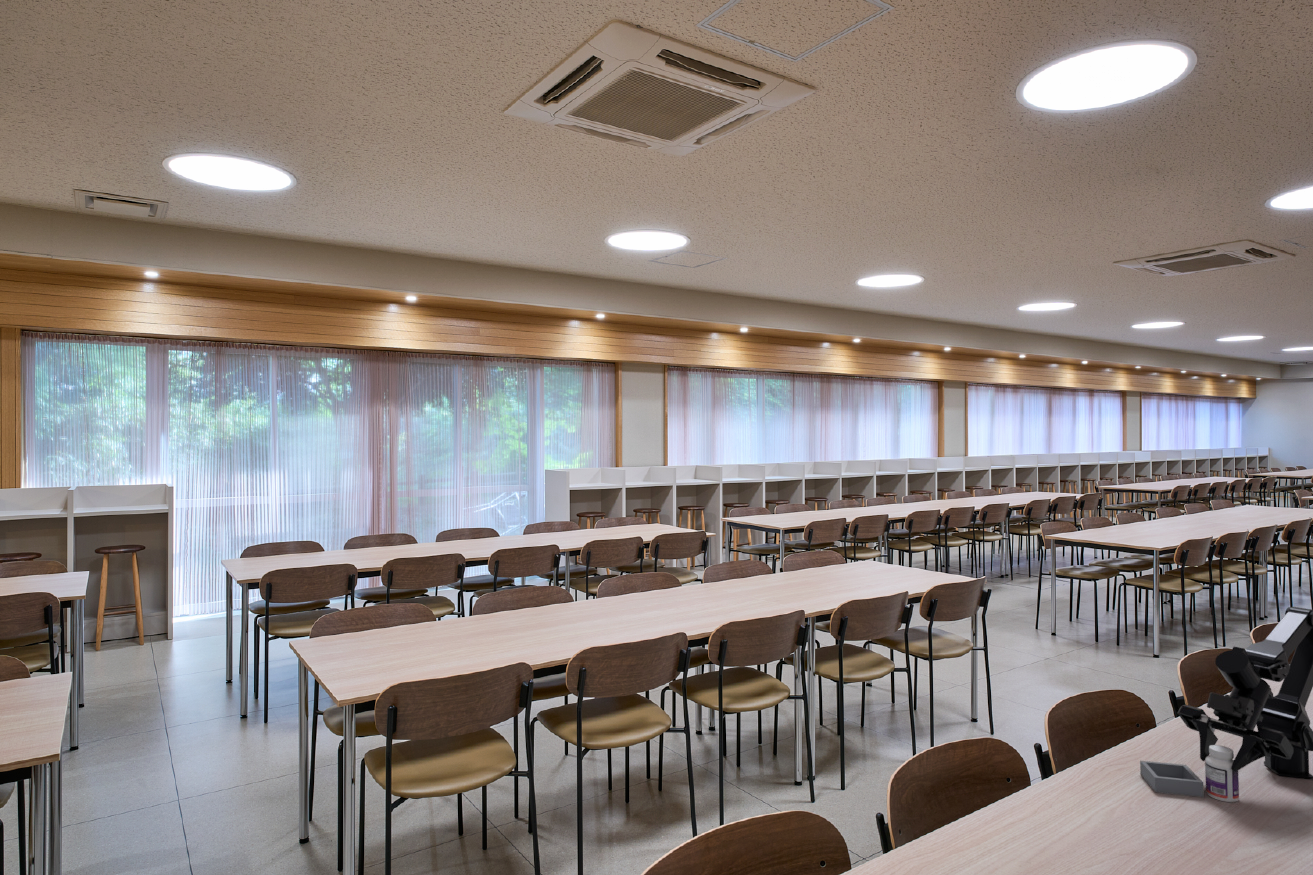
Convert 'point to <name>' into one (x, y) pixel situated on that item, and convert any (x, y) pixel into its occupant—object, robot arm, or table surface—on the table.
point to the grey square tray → (1172, 778)
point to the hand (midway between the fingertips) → (1217, 765)
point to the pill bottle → (1221, 774)
